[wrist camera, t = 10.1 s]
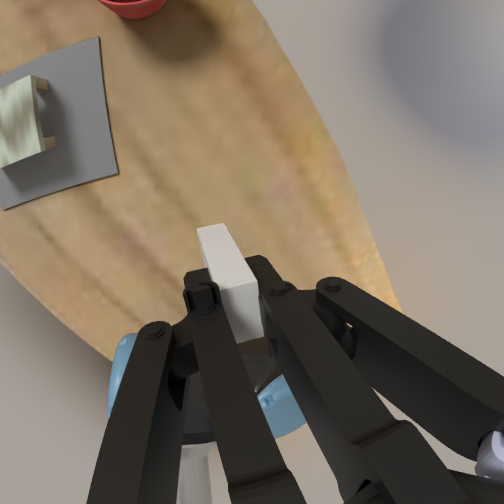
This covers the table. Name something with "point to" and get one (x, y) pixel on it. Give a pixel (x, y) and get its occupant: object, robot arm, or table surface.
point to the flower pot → (134, 7)
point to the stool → (22, 121)
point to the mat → (63, 125)
